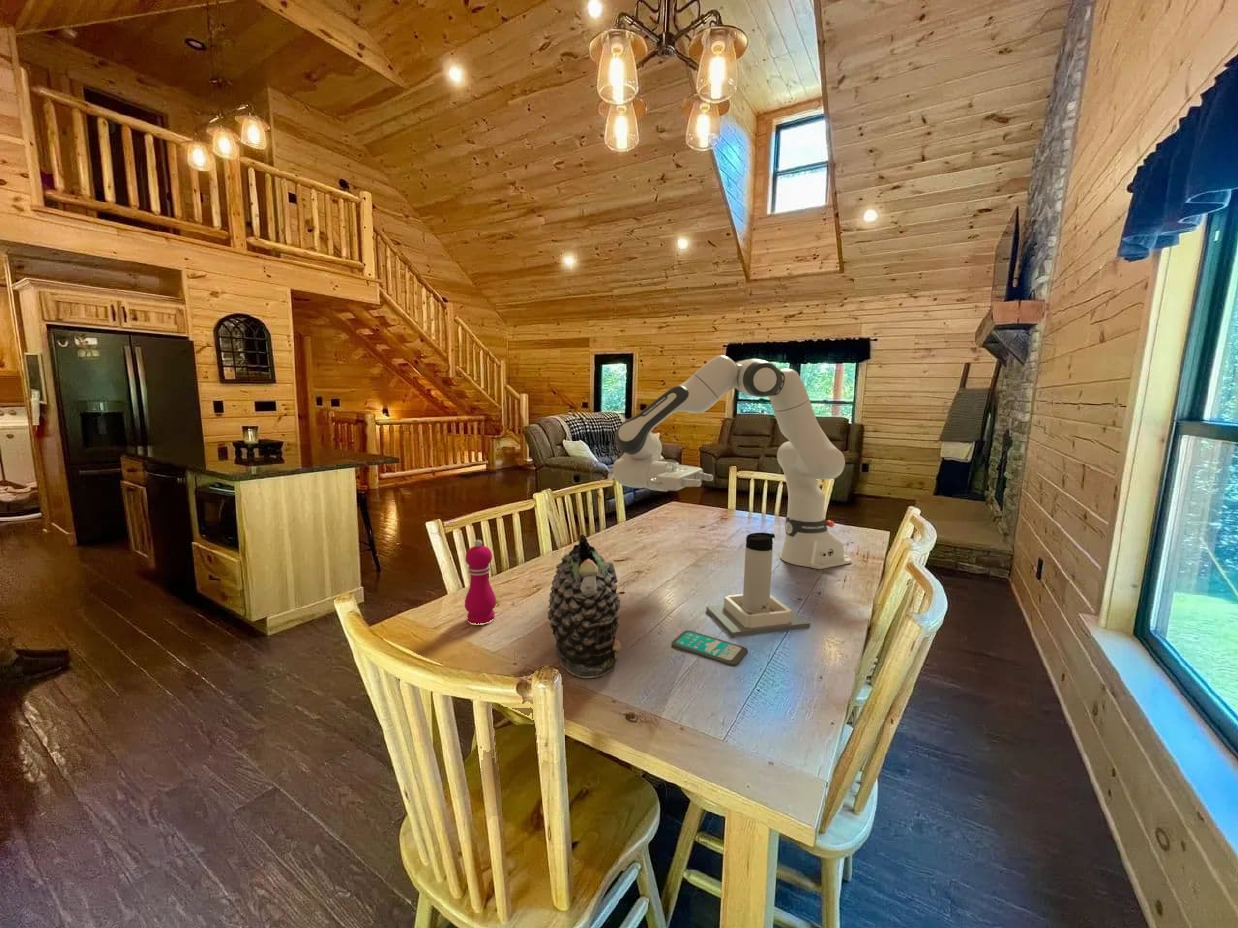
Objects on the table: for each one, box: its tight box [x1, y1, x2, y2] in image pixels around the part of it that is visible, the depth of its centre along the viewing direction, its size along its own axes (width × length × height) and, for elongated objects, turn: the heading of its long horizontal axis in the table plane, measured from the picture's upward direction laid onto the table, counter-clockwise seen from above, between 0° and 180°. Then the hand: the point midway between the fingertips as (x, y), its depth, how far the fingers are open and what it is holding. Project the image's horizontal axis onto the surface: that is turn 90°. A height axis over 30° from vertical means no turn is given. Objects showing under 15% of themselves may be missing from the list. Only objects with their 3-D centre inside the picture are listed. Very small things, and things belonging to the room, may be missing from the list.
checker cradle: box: [705, 593, 811, 639], centre depth 120 cm, size 20×14×4 cm
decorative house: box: [547, 534, 622, 679], centre depth 101 cm, size 21×15×25 cm
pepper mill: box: [464, 539, 497, 624], centre depth 117 cm, size 7×7×20 cm
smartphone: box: [671, 630, 749, 668], centre depth 107 cm, size 9×1×15 cm
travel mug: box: [742, 532, 776, 615], centre depth 119 cm, size 6×7×20 cm
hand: (706, 480), depth 141 cm, fingers open, 8 cm apart
